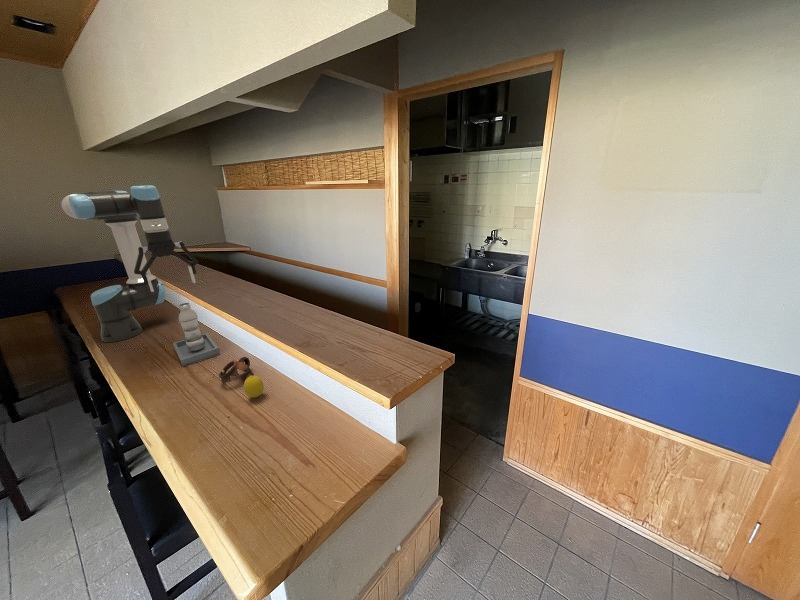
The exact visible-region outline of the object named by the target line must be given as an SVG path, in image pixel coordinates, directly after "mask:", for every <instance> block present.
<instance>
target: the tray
mask: <svg viewBox="0 0 800 600" xmlns="http://www.w3.org/2000/svg"><path fill="white" fill-rule="evenodd" d="M201 335H202V337H203V339H204V341H205V346H204V347H203V348H202V349H200V350H198V351H189V350H188V349H187V347H186V339H183V340H179V341H174V342H172V345H173V348H174V350H175V353H176V355H177V356H178V359H179V362H180V363H181V365H183V366H182V368H184V366H185V367H188V366H190V365H189V364H191V365H193V364H192V363H194V364H196V363H195V362H197V363H199V362H198V361H200V360H203V361H205V360H204V359H206V360H208V358H209V359H212V358H214V357H217V356H220V355H221V352H220V349H219V347H218V346H217V344H216V343H215V341H214V340H213V339H212V338H211V336H210V335H209V333H208V332H206V333H201ZM211 357H212V358H211ZM200 362H201V361H200ZM187 365H188V366H187Z"/></svg>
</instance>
